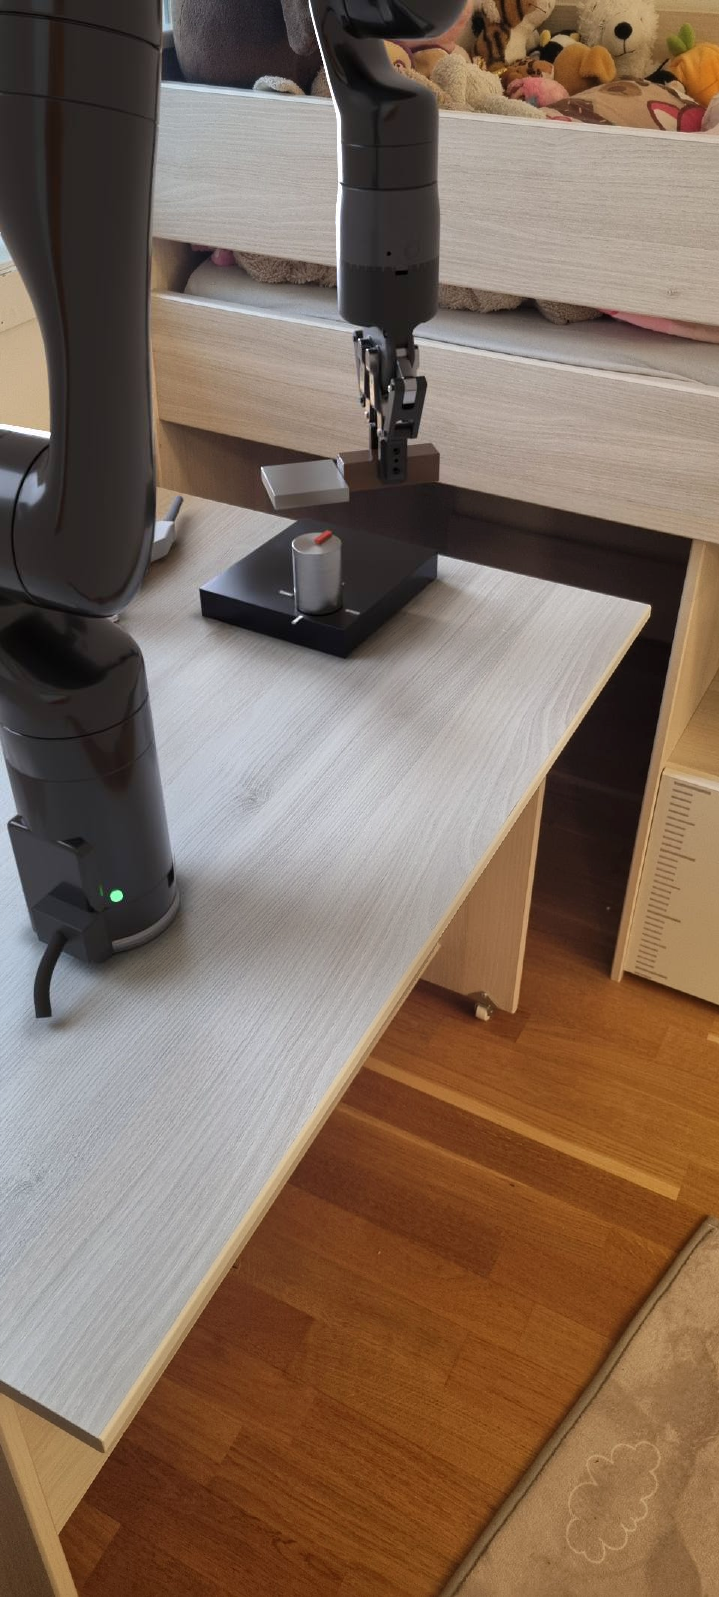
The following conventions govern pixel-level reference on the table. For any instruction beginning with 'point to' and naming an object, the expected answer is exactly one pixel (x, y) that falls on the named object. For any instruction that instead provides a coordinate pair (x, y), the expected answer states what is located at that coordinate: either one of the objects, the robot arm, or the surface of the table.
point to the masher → (342, 476)
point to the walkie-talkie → (166, 531)
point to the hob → (370, 579)
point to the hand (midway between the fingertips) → (388, 474)
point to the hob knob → (317, 573)
